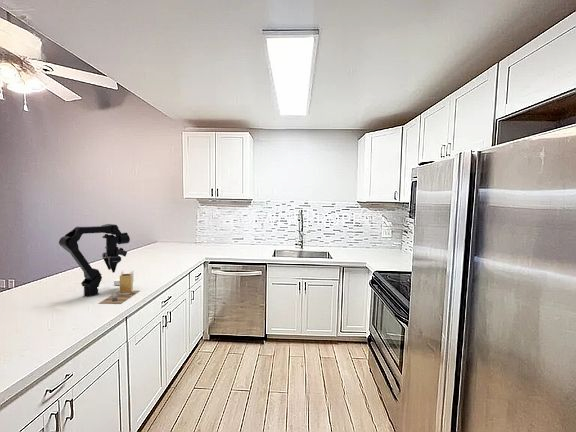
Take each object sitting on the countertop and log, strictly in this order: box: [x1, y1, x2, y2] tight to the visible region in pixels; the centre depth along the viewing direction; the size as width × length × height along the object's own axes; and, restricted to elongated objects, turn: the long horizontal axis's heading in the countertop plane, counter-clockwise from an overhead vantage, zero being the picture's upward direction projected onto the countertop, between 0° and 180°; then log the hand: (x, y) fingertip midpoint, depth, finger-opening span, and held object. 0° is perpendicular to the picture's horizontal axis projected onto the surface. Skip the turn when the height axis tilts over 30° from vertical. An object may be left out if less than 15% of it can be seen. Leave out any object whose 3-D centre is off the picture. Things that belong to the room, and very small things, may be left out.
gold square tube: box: [119, 273, 134, 293], centre depth 203 cm, size 6×6×10 cm
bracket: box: [113, 270, 134, 287], centre depth 231 cm, size 13×7×8 cm, turn 1°
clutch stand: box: [97, 290, 141, 305], centre depth 196 cm, size 26×12×6 cm, turn 1°
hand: (111, 271), depth 209 cm, fingers open, 9 cm apart
